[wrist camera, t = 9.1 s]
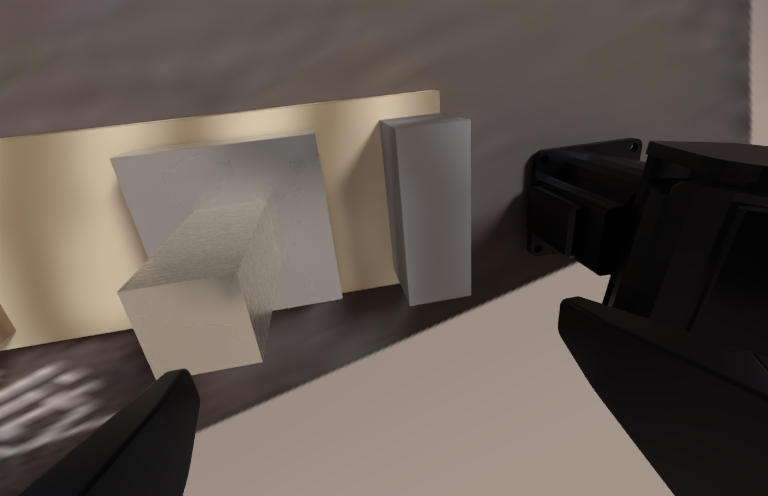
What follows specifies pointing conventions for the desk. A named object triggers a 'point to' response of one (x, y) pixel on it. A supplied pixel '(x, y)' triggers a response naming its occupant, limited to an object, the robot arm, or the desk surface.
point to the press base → (330, 119)
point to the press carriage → (225, 245)
